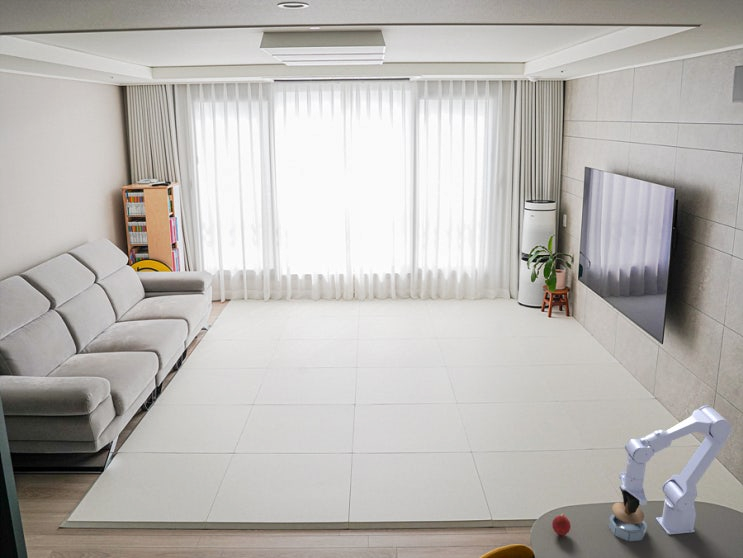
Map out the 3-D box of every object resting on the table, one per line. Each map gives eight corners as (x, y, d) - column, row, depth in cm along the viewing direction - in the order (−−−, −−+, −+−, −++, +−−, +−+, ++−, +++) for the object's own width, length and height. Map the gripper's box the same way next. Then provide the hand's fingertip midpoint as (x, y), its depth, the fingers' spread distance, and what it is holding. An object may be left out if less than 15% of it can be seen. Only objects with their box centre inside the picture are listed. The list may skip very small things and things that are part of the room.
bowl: (634, 516, 223) (635, 509, 222) (651, 539, 213) (652, 531, 212) (603, 519, 222) (604, 512, 221) (619, 542, 212) (620, 534, 211)
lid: (634, 503, 221) (637, 493, 219) (649, 523, 211) (652, 512, 210) (606, 504, 220) (609, 493, 218) (620, 524, 210) (622, 513, 209)
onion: (570, 541, 212) (572, 521, 210) (552, 539, 214) (553, 519, 211) (568, 529, 218) (570, 510, 215) (551, 527, 219) (552, 507, 216)
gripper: (612, 462, 217) (608, 496, 221) (634, 489, 203) (629, 525, 208) (632, 460, 218) (627, 494, 222) (655, 487, 204) (649, 523, 209)
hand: (629, 509), depth 215 cm, fingers closed on lid, 2 cm apart
